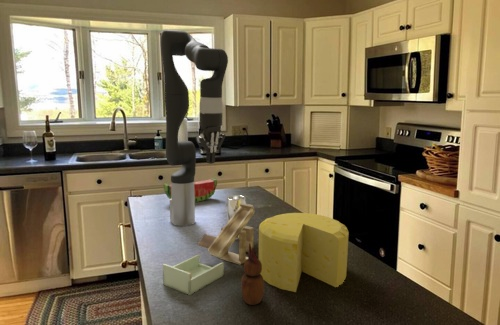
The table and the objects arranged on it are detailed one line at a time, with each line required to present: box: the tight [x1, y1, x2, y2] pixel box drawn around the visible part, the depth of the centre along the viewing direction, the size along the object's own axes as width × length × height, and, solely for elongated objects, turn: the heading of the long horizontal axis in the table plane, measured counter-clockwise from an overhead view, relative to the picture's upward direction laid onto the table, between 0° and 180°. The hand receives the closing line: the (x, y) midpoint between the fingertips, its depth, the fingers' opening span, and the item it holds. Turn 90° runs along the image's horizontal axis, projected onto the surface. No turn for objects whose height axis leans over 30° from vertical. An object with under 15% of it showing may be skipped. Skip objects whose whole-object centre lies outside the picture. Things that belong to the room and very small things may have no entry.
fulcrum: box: [216, 225, 254, 266], centre depth 130 cm, size 12×9×10 cm
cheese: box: [258, 212, 350, 293], centre depth 119 cm, size 26×26×15 cm
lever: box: [197, 203, 256, 259], centre depth 128 cm, size 20×11×3 cm
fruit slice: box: [163, 177, 218, 204], centre depth 193 cm, size 26×6×10 cm, turn 123°
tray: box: [162, 254, 225, 296], centre depth 113 cm, size 10×14×6 cm
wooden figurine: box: [240, 243, 265, 306], centre depth 101 cm, size 7×6×15 cm
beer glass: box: [226, 194, 247, 241], centre depth 146 cm, size 7×7×15 cm
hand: (210, 163), depth 134 cm, fingers closed
